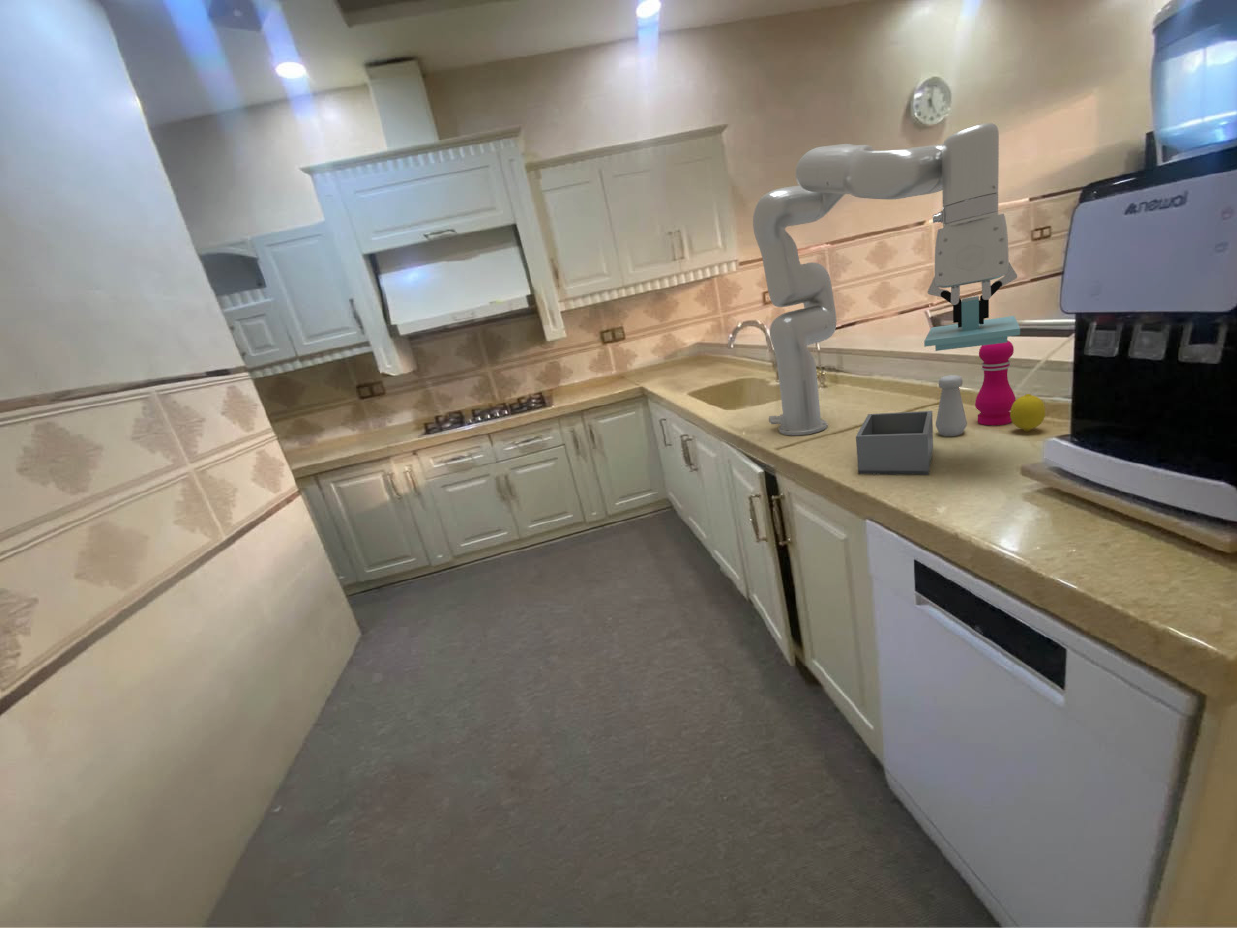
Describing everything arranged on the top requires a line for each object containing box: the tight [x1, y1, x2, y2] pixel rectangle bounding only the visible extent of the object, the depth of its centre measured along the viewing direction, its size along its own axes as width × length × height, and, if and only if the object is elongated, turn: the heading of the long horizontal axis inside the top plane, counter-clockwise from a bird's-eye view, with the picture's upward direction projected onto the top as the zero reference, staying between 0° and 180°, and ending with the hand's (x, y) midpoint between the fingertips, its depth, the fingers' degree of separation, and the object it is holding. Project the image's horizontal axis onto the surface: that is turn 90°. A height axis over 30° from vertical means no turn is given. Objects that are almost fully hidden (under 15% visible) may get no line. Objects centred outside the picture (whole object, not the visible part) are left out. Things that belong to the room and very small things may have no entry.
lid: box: [923, 295, 1021, 352], centre depth 86 cm, size 13×17×7 cm
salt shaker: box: [935, 374, 968, 437], centre depth 107 cm, size 6×6×13 cm
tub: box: [855, 410, 934, 476], centre depth 100 cm, size 12×16×8 cm
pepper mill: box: [974, 339, 1017, 426], centre depth 108 cm, size 7×7×20 cm
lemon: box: [1009, 393, 1046, 432], centre depth 100 cm, size 6×6×8 cm
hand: (970, 324), depth 87 cm, fingers closed on lid, 2 cm apart
